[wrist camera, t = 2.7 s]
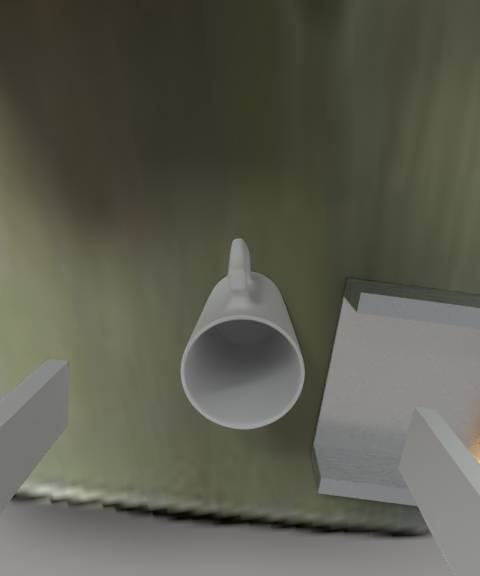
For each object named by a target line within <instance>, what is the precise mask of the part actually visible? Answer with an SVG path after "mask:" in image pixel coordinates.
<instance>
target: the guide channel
mask: <svg viewBox="0 0 480 576" xmlns="http://www.w3.org/2000/svg"><path fill="white" fill-rule="evenodd" d="M415 406H416V407H423V408H431V409H435V410H436V411H437V412H438V413H439V415H440V416H441V417H442V418H443V419H444V421H445V422H446V423H447V424H448V426H449V427H450V428H451V429H452V431H453V432H454V433H455V434H456V436H457V437H458V438H459V439H460V441H461V442H462V443H463V444H464V446H465V447H466V448H467V449H468V451H469V452H470V453H471V454H472V456H473V457H474V458H475V459H476V461H477V462H478V463H479V464H480V295H476V294H468V293H461V292H453V291H446V290H438V289H430V288H423V287H415V286H408V285H400V284H392V283H385V282H377V281H370V280H362V279H354V278H346V283H345V287H344V292H343V297H342V302H341V307H340V312H339V317H338V322H337V327H336V332H335V337H334V342H333V347H332V351H331V356H330V361H329V366H328V371H327V376H326V381H325V386H324V391H323V396H322V401H321V406H320V411H319V415H318V420H317V425H316V430H315V435H314V440H313V445H312V450H311V455H310V458H311V463H312V467H313V472H314V477H315V482H316V486H317V491H318V493H320V494H327V495H335V496H343V497H350V498H358V499H366V500H373V501H381V502H389V503H397V504H404V505H412V506H417V504H416V502H415V500H414V498H413V496H412V494H411V492H410V490H409V488H408V486H407V484H406V482H405V480H404V478H403V476H402V475H401V473H400V471H399V469H398V468H399V464H400V460H401V456H402V453H403V449H404V445H405V441H406V438H407V434H408V430H409V427H410V423H411V419H412V415H413V412H414V408H415Z"/></svg>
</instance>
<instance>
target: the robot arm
mask: <svg viewBox="0 0 480 576" xmlns="http://www.w3.org/2000/svg"><path fill="white" fill-rule="evenodd" d="M67 419H68V361H61V360H54V359H47V360H46V361H45V362H44V363H43V364H42V365H40V366H39V367H38V368H37V369H36V370H35V371H34V372H32V373H31V374H30V375H29V376H28V377H27V378H25V379H24V380H23V381H22V382H21V383H20V384H18V385H17V386H16V387H15V388H14V389H13V390H11V391H10V392H9V393H8V394H7V395H6V396H4V397H3V398H2V399H1V400H0V513H1V512H2V510H3V509H4V508H5V506H6V505H7V504H8V502H9V501H10V500H11V498H12V497H13V496H14V495H15V493H16V492H17V491H18V489H19V488H20V487H21V485H22V484H23V483H24V481H25V480H26V479H27V478H28V476H29V475H30V474H31V472H32V471H33V470H34V468H35V467H36V466H37V464H38V463H39V462H40V461H41V459H42V458H43V457H44V455H45V454H46V453H47V451H48V450H49V449H50V447H51V446H52V445H53V444H54V442H55V441H56V440H57V438H58V437H59V436H60V434H61V433H62V432H63V430H64V429H65V428H66V427H67ZM398 469H399V471H400V473H401V475H402V476H403V478H404V480H405V482H406V484H407V486H408V488H409V490H410V492H411V494H412V496H413V498H414V500H415V502H416V504H417V506H418V508H419V510H420V512H421V514H422V516H423V518H424V520H425V522H426V524H427V526H428V528H429V530H430V532H431V533H432V535H433V537H434V539H435V541H436V543H437V545H438V547H439V549H440V551H441V553H442V555H443V557H444V559H445V561H446V563H447V565H448V567H449V569H450V571H451V573H452V575H453V576H480V464H479V463H478V462H477V461H476V459H475V458H474V457H473V456H472V454H471V453H470V452H469V451H468V449H467V448H466V447H465V446H464V444H463V443H462V442H461V441H460V439H459V438H458V437H457V436H456V434H455V433H454V432H453V431H452V429H451V428H450V427H449V426H448V424H447V423H446V422H445V421H444V419H443V418H442V417H441V416H440V415H439V413H438V412H437V411H436V410H435V409H431V408H423V407H416V406H415V408H414V412H413V415H412V419H411V423H410V427H409V430H408V434H407V438H406V441H405V445H404V449H403V453H402V456H401V460H400V464H399V468H398Z"/></svg>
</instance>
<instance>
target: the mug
mask: <svg viewBox="0 0 480 576" xmlns="http://www.w3.org/2000/svg"><path fill="white" fill-rule="evenodd" d="M304 376H305V369H304V362H303V358H302V355H301V352H300V348H299V344H298V341H297V338H296V335H295V332H294V329H293V326H292V324H291V321H290V318H289V315H288V312H287V309H286V306H285V303H284V301H283V298H282V295H281V293H280V291H279V289H278V288H277V286H276V285H275V284H274V283H273V282H272V281H271V280H270V279H269V278H267V277H266V276H264V275H262V274H259V273H256V272H251V268H250V254H249V250H248V248H247V245H246V243H245V241H244V240H243V239H240V238H239V239H234V240H233V242H232V246H231V253H230V260H229V271H228V276H226V277H224V278H223V279H222V280H221V281H219V282H218V283H217V285H216V286H215V287H214V289H213V290H212V292H211V294H210V296H209V298H208V300H207V302H206V305H205V307H204V309H203V311H202V313H201V315H200V318H199V320H198V322H197V324H196V326H195V328H194V330H193V333H192V335H191V337H190V340H189V343H188V345H187V347H186V349H185V351H184V354H183V357H182V362H181V381H182V385H183V388H184V391H185V393H186V395H187V397H188V399H189V401H190V402H191V404H192V405H193V406H194V407H195V408H196V410H198V411H199V412H200V413H201V414H202V415H203V416H205V417H206V418H207V419H209V420H211V421H212V422H214V423H217V424H219V425H222V426H225V427H228V428H233V429H254V428H259V427H263V426H265V425H268V424H270V423H272V422H274V421H276V420H278V419H279V418H281V417H282V416H283V415H285V414H286V413H287V412H288V411H289V410H290V409H291V408H292V407H293V405H294V404H295V402H296V401H297V399H298V397H299V395H300V393H301V391H302V388H303V384H304Z"/></svg>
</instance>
